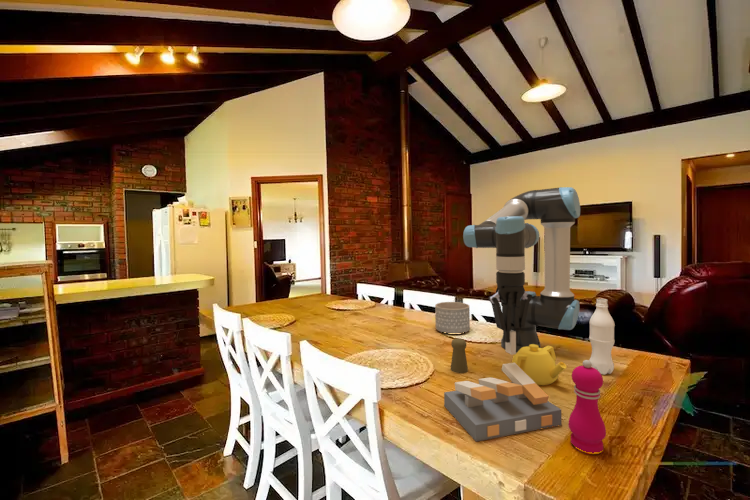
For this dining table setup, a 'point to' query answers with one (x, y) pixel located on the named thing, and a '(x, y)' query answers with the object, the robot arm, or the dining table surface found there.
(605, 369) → the water bottle
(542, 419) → the switch box
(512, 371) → the rocker
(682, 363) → the dining table surface
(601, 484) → the dining table surface
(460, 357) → the olive brown shaker
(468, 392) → the rocker
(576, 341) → the dining table surface
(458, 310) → the planter
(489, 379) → the rocker
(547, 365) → the teapot
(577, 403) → the pepper mill
